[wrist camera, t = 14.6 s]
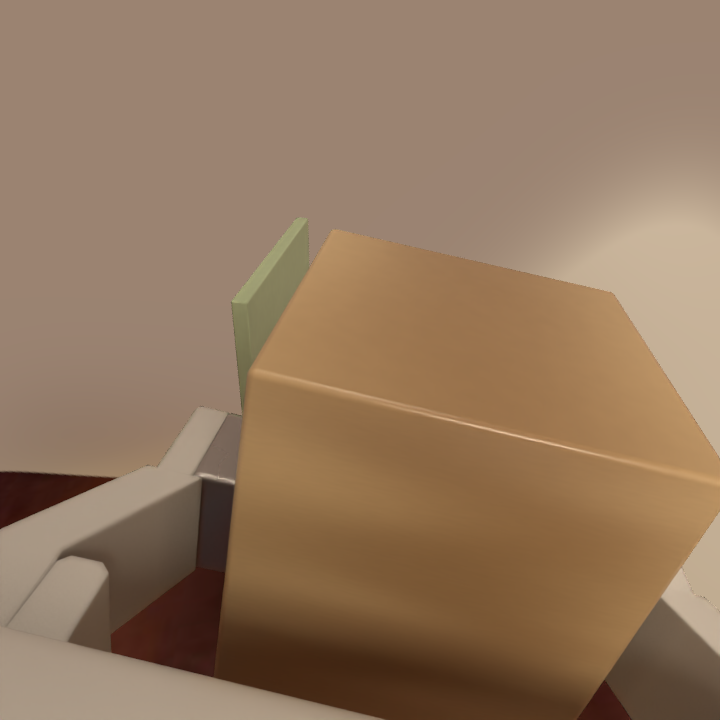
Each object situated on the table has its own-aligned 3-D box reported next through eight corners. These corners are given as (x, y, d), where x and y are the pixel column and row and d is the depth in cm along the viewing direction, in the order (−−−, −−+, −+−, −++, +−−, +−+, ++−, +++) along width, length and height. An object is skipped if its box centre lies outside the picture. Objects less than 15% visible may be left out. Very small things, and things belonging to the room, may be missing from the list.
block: (198, 797, 9) (244, 370, 5) (272, 570, 13) (331, 226, 9) (478, 866, 9) (743, 486, 5) (469, 617, 13) (614, 291, 9)
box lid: (308, 217, 34) (296, 217, 34) (247, 302, 23) (230, 301, 23) (313, 417, 41) (303, 416, 41) (268, 552, 30) (255, 550, 30)
